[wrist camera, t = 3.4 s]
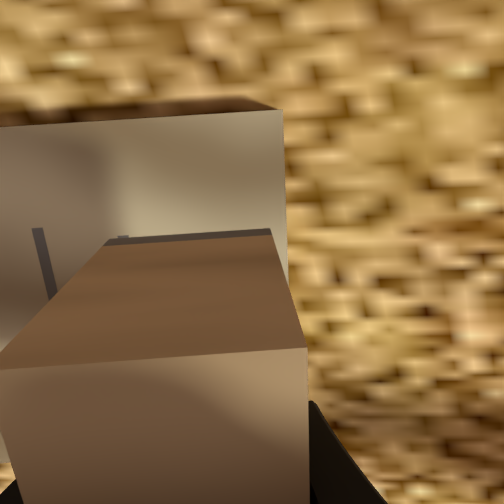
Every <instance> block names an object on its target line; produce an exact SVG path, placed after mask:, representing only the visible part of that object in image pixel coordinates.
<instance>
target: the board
mask: <svg viewBox="0 0 504 504" xmlns="http://www.w3.org/2000/svg"><path fill="white" fill-rule="evenodd" d="M263 228H270V229H271V232H272V236H273V239H274V242H275V245H276V248H277V252H278V255H279V258H280V261H281V264H282V268H283V271H284V274H285V277H286V280H287V284H288V254H287V223H286V193H285V163H284V132H283V110H264V111H248V112H233V113H217V114H201V115H185V116H169V117H153V118H137V119H121V120H105V121H90V122H74V123H58V124H42V125H26V126H10V127H0V352H1V351H2V350H3V349H4V348H5V347H6V346H7V344H8V343H9V342H10V341H11V340H12V339H13V338H14V337H15V336H16V335H17V334H18V333H19V332H20V331H21V330H22V329H23V328H24V327H25V326H26V325H27V324H28V323H29V322H30V321H31V320H32V319H33V318H34V316H35V315H36V314H37V313H38V312H39V311H40V310H41V309H42V308H43V307H44V306H45V305H46V304H47V303H48V302H49V301H50V300H51V299H52V298H53V297H54V296H55V295H56V294H57V293H58V292H59V291H60V289H61V288H62V287H63V286H64V285H65V284H66V283H67V282H68V281H69V280H70V279H71V278H72V277H73V276H74V275H75V274H76V273H77V272H78V271H79V270H80V269H81V268H82V267H83V266H84V265H85V264H86V262H87V261H88V260H89V259H90V258H91V257H92V256H93V255H94V254H95V253H96V252H97V251H98V250H99V249H100V248H101V247H102V246H103V245H104V244H105V243H106V242H107V241H108V240H109V239H113V238H128V237H143V236H158V235H173V234H188V233H203V232H218V231H233V230H248V229H263ZM288 287H289V284H288ZM9 462H10V459H9V455H8V452H7V449H6V446H5V443H4V440H3V437H2V433H1V430H0V463H9Z"/></svg>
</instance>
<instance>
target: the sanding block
mask: <svg viewBox="0 0 504 504" xmlns="http://www.w3.org/2000/svg"><path fill="white" fill-rule="evenodd" d="M0 430H1V433H2V437H3V440H4V443H5V446H6V449H7V452H8V455H9V459H10V462H11V465H12V468H13V471H14V474H15V477H16V480H17V484H18V487H19V490H20V493H21V496H22V499H23V502H24V504H310V484H309V418H308V353H307V344H306V341H305V338H304V335H303V332H302V328H301V325H300V322H299V319H298V316H297V312H296V309H295V306H294V303H293V300H292V296H291V293H290V290H289V287H288V284H287V280H286V277H285V274H284V271H283V268H282V264H281V261H280V258H279V255H278V252H277V248H276V245H275V242H274V239H273V236H272V232H271V229H270V228H263V229H248V230H233V231H218V232H203V233H188V234H173V235H158V236H143V237H128V238H113V239H109V240H108V241H107V242H106V243H105V244H104V245H103V246H102V247H101V248H100V249H99V250H98V251H97V252H96V253H95V254H94V255H93V256H92V257H91V258H90V259H89V260H88V261H87V262H86V264H85V265H84V266H83V267H82V268H81V269H80V270H79V271H78V272H77V273H76V274H75V275H74V276H73V277H72V278H71V279H70V280H69V281H68V282H67V283H66V284H65V285H64V286H63V287H62V288H61V289H60V291H59V292H58V293H57V294H56V295H55V296H54V297H53V298H52V299H51V300H50V301H49V302H48V303H47V304H46V305H45V306H44V307H43V308H42V309H41V310H40V311H39V312H38V313H37V314H36V315H35V316H34V318H33V319H32V320H31V321H30V322H29V323H28V324H27V325H26V326H25V327H24V328H23V329H22V330H21V331H20V332H19V333H18V334H17V335H16V336H15V337H14V338H13V339H12V340H11V341H10V342H9V343H8V344H7V346H6V347H5V348H4V349H3V350H2V351H1V352H0Z"/></svg>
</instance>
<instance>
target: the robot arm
mask: <svg viewBox="0 0 504 504" xmlns="http://www.w3.org/2000/svg"><path fill="white" fill-rule="evenodd" d="M308 418H309V484H310V504H388V503H387V502H386V501H385V500H384V499H383V497H382V496H381V495H380V494H379V492H378V491H377V490H376V489H375V488H374V486H373V485H372V484H371V483H370V481H369V480H368V479H367V477H366V476H365V475H364V473H363V472H362V471H361V470H360V468H359V467H358V466H357V464H356V463H355V462H354V460H353V459H352V458H351V456H350V455H349V454H348V452H347V451H346V449H345V448H344V447H343V445H342V444H341V442H340V441H339V439H338V438H337V436H336V435H335V434H334V432H333V431H332V429H331V427H330V426H329V424H328V423H327V421H326V420H325V418H324V416H323V415H322V413H321V411H320V409H319V408H318V406H317V404H316V403H314V402H313V401H308ZM0 504H24V502H23V499H22V496H21V493H20V490H19V487H18V484H17V480H16V479H15V480H14V481H13V482H12V483H11V484H10V485H9V486H8V487H7V488H6V489H5V490H4V491H3V492H2V493H1V494H0Z"/></svg>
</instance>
